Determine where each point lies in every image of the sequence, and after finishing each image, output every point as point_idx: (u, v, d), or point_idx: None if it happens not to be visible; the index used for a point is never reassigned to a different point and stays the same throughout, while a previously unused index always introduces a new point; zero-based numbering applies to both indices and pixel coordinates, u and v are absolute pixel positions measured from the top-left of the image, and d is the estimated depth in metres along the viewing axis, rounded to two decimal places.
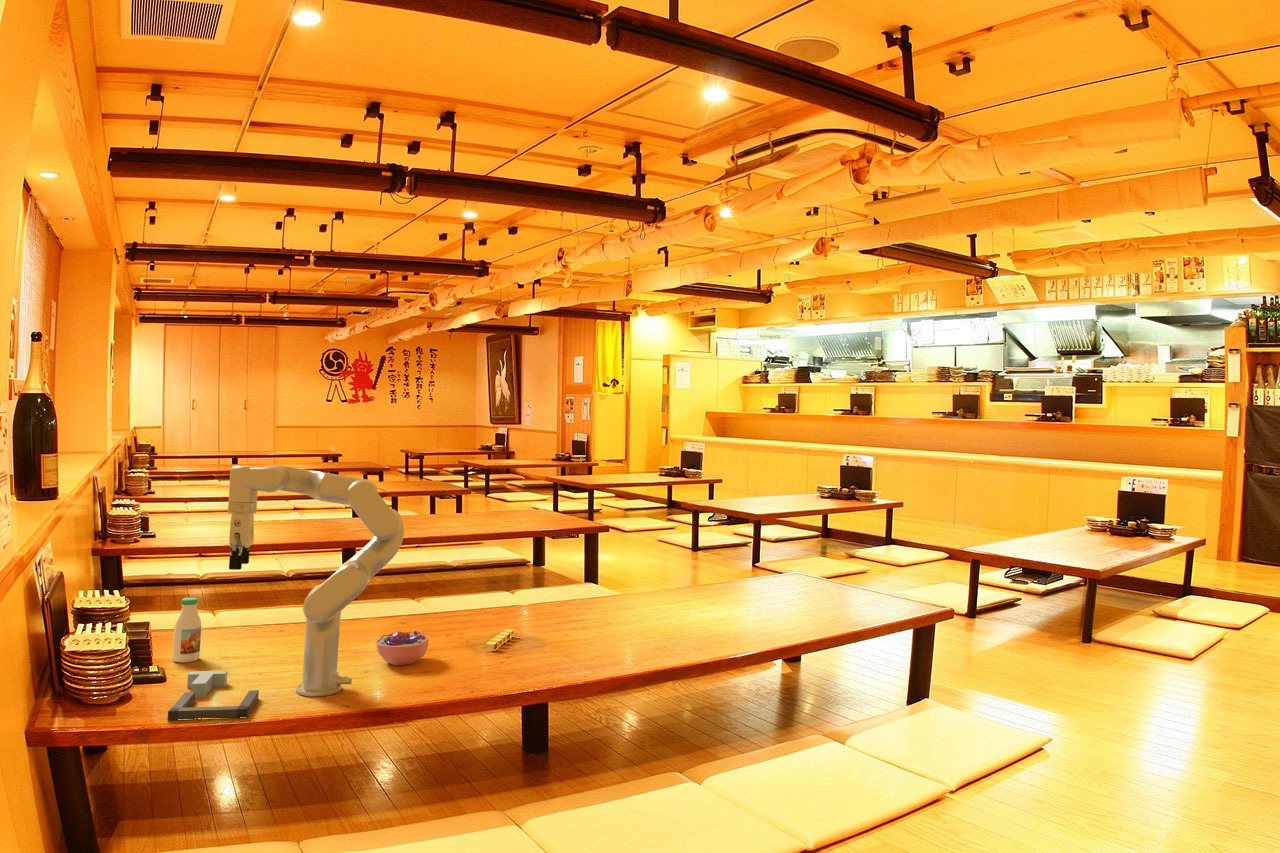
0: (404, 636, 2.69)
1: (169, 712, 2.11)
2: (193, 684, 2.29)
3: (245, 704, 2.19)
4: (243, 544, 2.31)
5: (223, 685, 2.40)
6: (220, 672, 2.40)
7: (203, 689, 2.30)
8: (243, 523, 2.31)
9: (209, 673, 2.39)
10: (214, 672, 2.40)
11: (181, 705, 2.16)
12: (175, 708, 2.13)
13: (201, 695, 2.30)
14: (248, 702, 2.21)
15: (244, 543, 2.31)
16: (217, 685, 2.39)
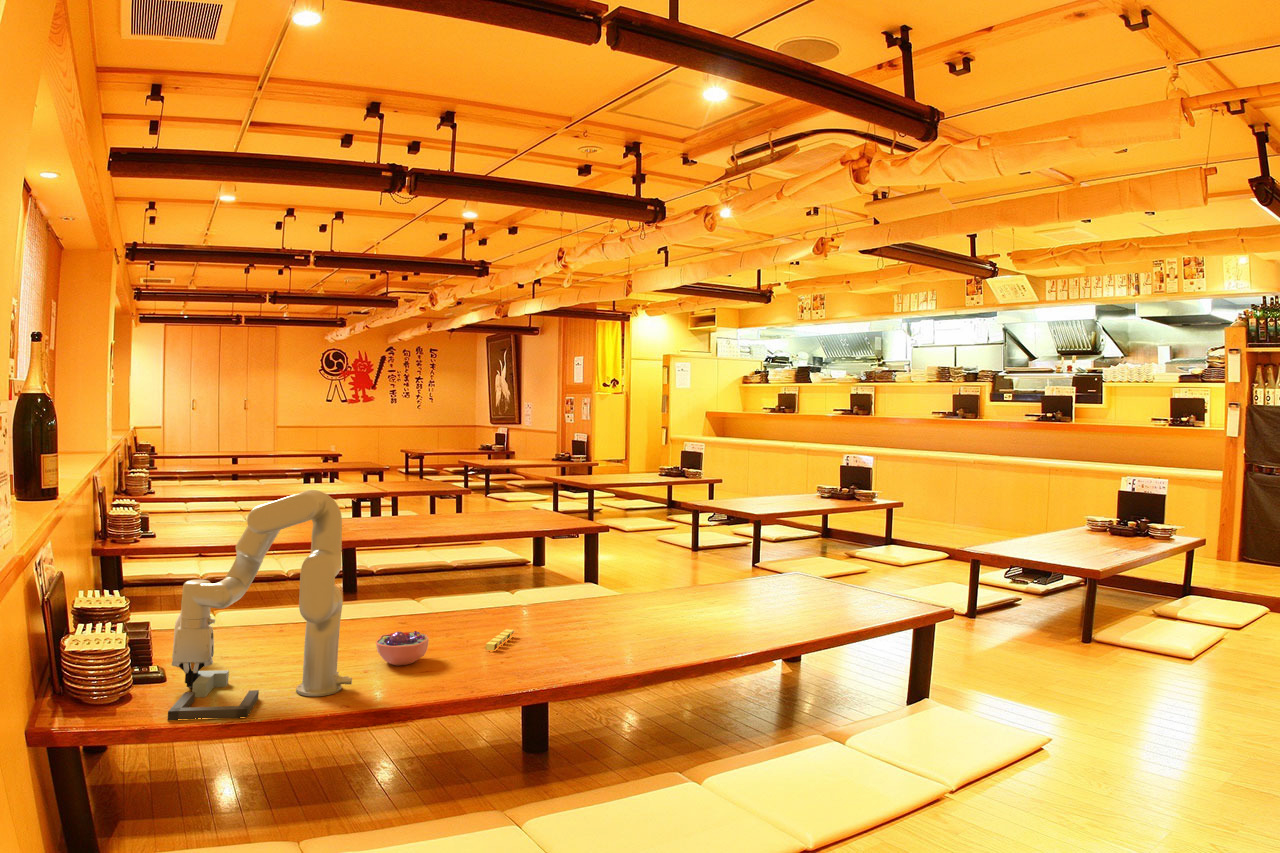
0: (404, 636, 2.69)
1: (169, 712, 2.11)
2: (194, 684, 2.29)
3: (245, 704, 2.19)
4: (213, 654, 2.39)
5: (224, 685, 2.40)
6: (221, 672, 2.41)
7: (204, 689, 2.30)
8: (213, 634, 2.39)
9: (210, 672, 2.39)
10: (215, 672, 2.40)
11: (181, 705, 2.16)
12: (175, 708, 2.13)
13: (203, 695, 2.30)
14: (248, 702, 2.21)
15: (213, 654, 2.39)
16: (218, 685, 2.39)
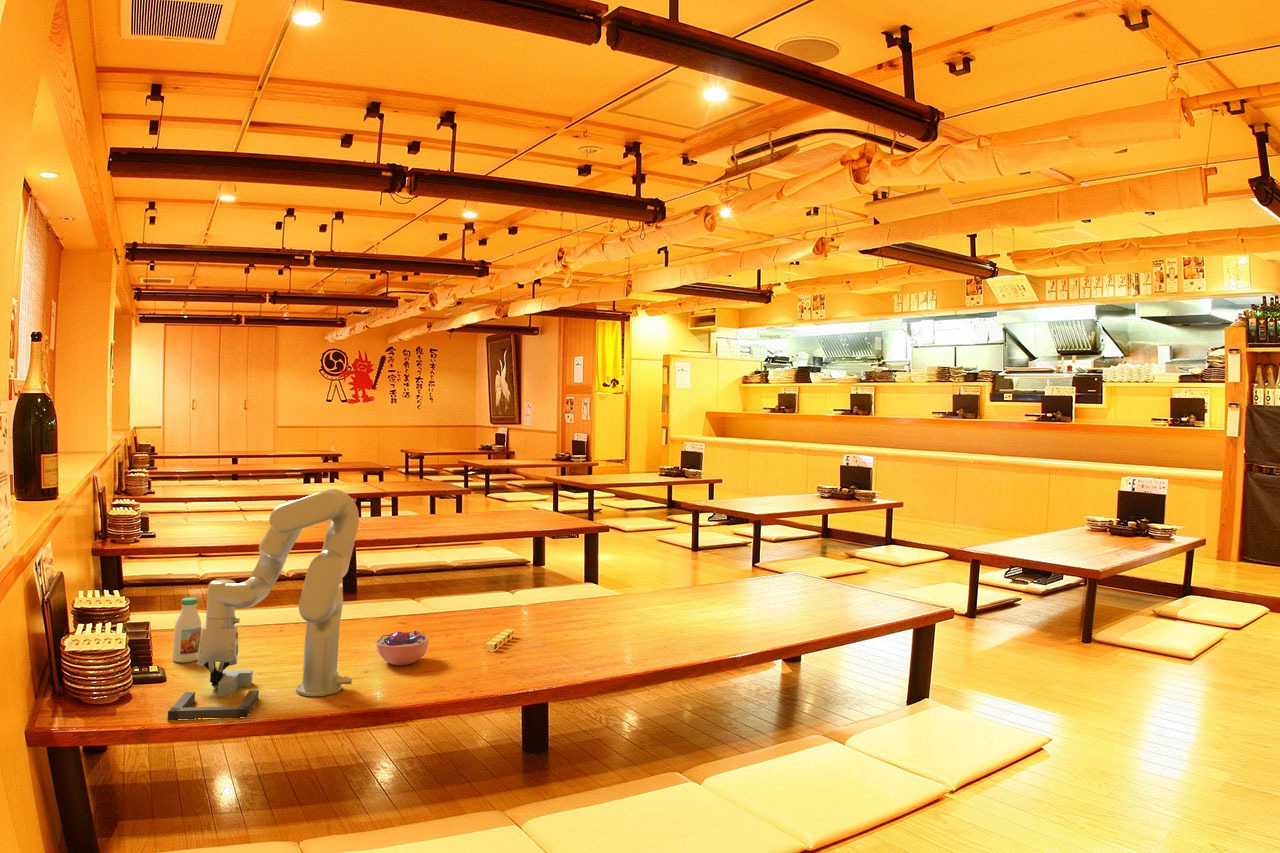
0: (404, 636, 2.69)
1: (169, 712, 2.11)
2: (220, 683, 2.31)
3: (245, 704, 2.19)
4: (237, 654, 2.41)
5: (248, 684, 2.41)
6: (245, 671, 2.42)
7: (230, 688, 2.32)
8: (237, 634, 2.40)
9: (234, 672, 2.41)
10: (240, 671, 2.42)
11: (181, 705, 2.16)
12: (175, 708, 2.13)
13: (228, 694, 2.32)
14: (248, 702, 2.21)
15: (237, 653, 2.41)
16: (243, 684, 2.41)
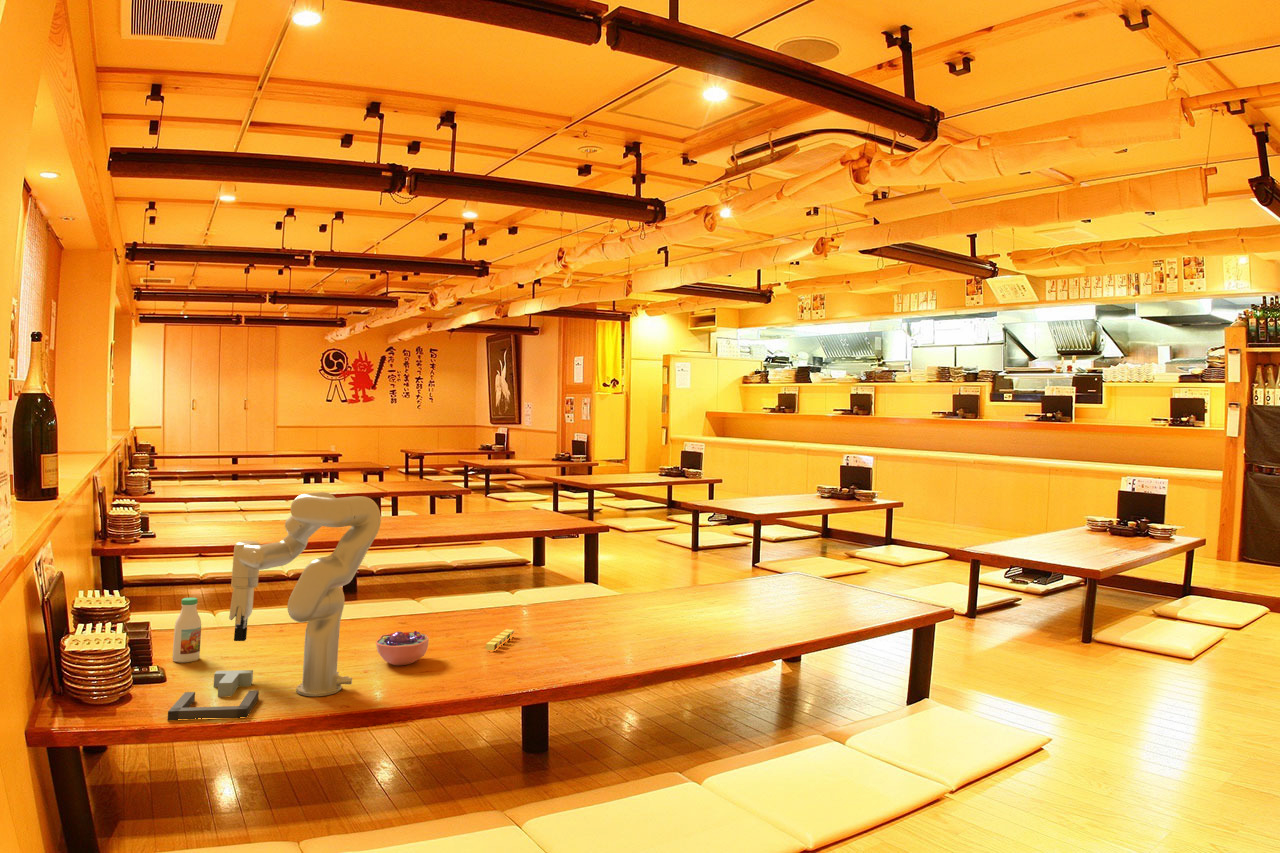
0: (404, 636, 2.69)
1: (169, 712, 2.11)
2: (220, 683, 2.31)
3: (245, 704, 2.19)
4: None
5: (249, 684, 2.41)
6: (246, 671, 2.42)
7: (230, 688, 2.32)
8: None
9: (235, 672, 2.41)
10: (240, 671, 2.42)
11: (181, 705, 2.16)
12: (175, 708, 2.13)
13: (228, 695, 2.32)
14: (248, 702, 2.21)
15: None
16: (243, 684, 2.41)
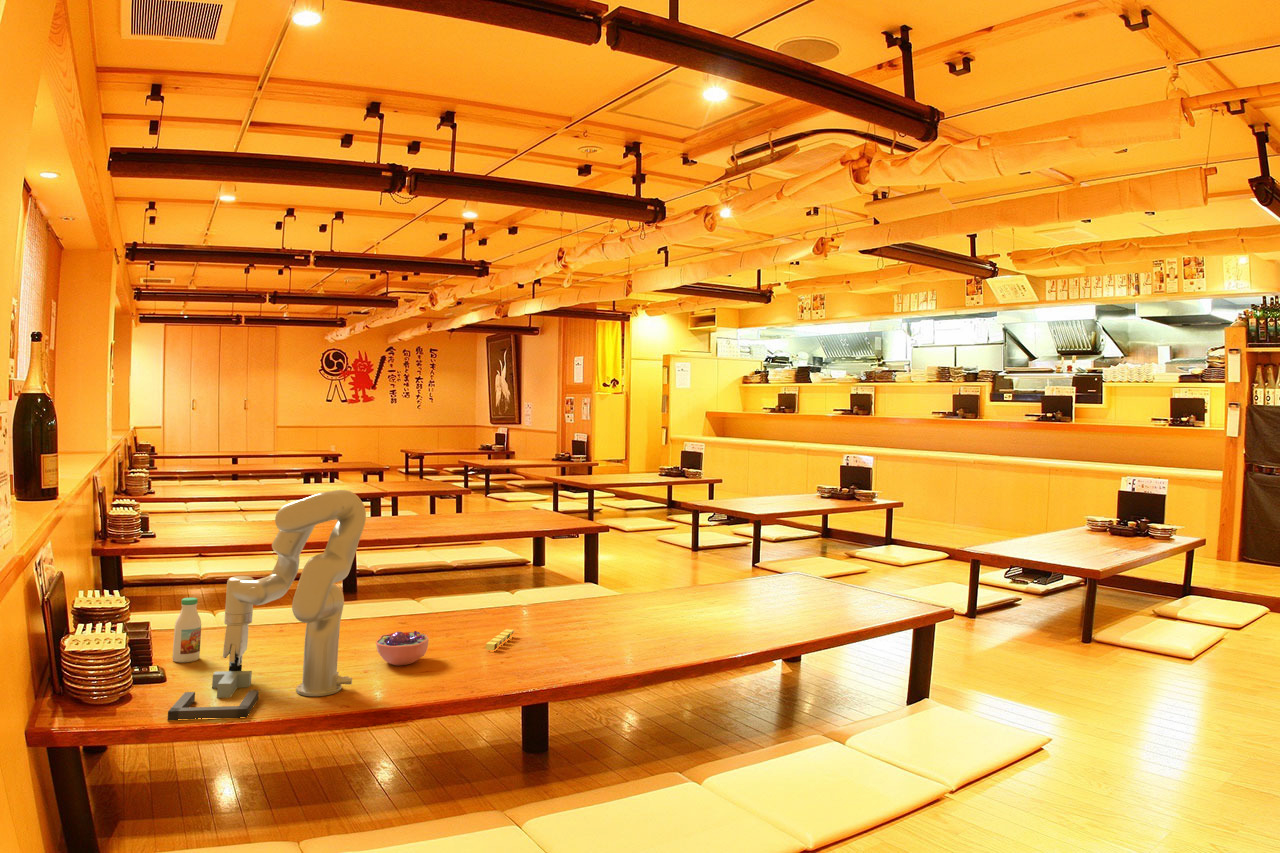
0: (404, 636, 2.69)
1: (169, 712, 2.11)
2: (219, 684, 2.30)
3: (245, 704, 2.19)
4: None
5: (248, 685, 2.40)
6: (244, 672, 2.41)
7: (229, 689, 2.31)
8: None
9: (233, 673, 2.40)
10: (239, 672, 2.41)
11: (181, 705, 2.16)
12: (175, 708, 2.13)
13: (227, 695, 2.31)
14: (248, 702, 2.21)
15: None
16: (242, 685, 2.40)
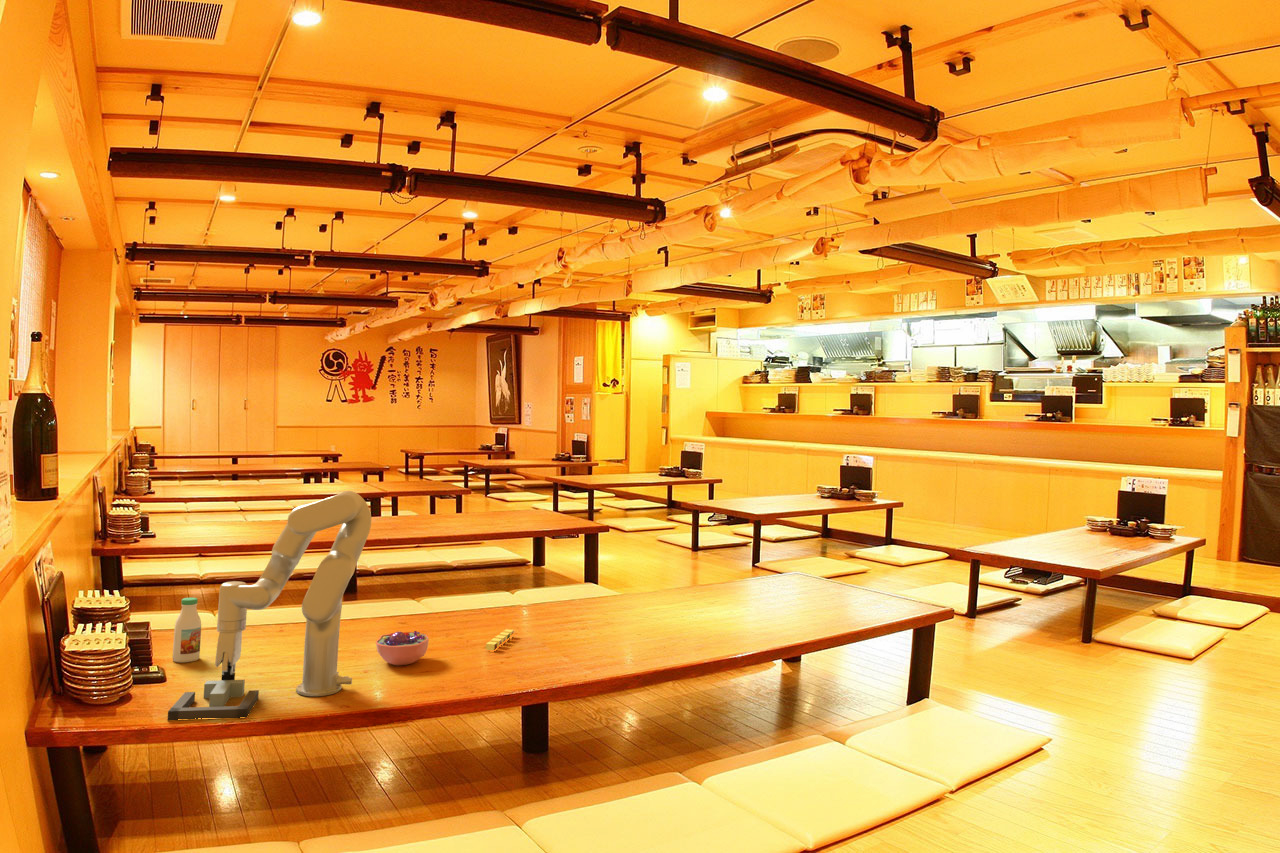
0: (404, 636, 2.69)
1: (169, 712, 2.11)
2: (211, 694, 2.22)
3: (245, 704, 2.19)
4: None
5: (241, 695, 2.32)
6: (237, 681, 2.33)
7: (222, 699, 2.22)
8: None
9: (226, 682, 2.32)
10: (231, 681, 2.33)
11: (181, 705, 2.16)
12: (175, 708, 2.13)
13: (220, 706, 2.22)
14: (248, 702, 2.21)
15: None
16: (234, 695, 2.32)
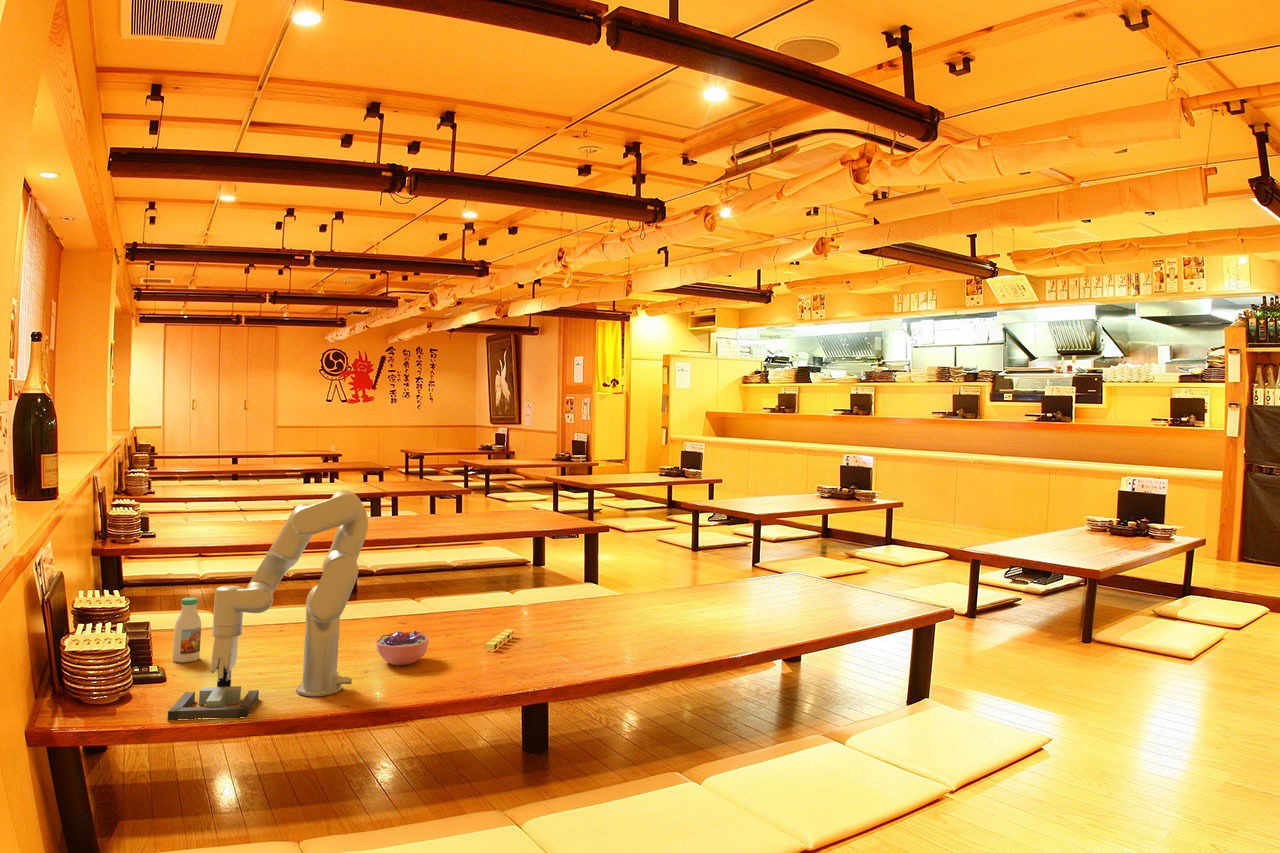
0: (404, 636, 2.69)
1: (169, 712, 2.11)
2: (207, 701, 2.16)
3: (245, 704, 2.19)
4: None
5: (237, 701, 2.27)
6: (234, 688, 2.27)
7: None
8: None
9: (221, 689, 2.26)
10: (227, 688, 2.27)
11: (181, 705, 2.16)
12: (175, 708, 2.13)
13: None
14: (248, 702, 2.21)
15: None
16: (231, 702, 2.26)
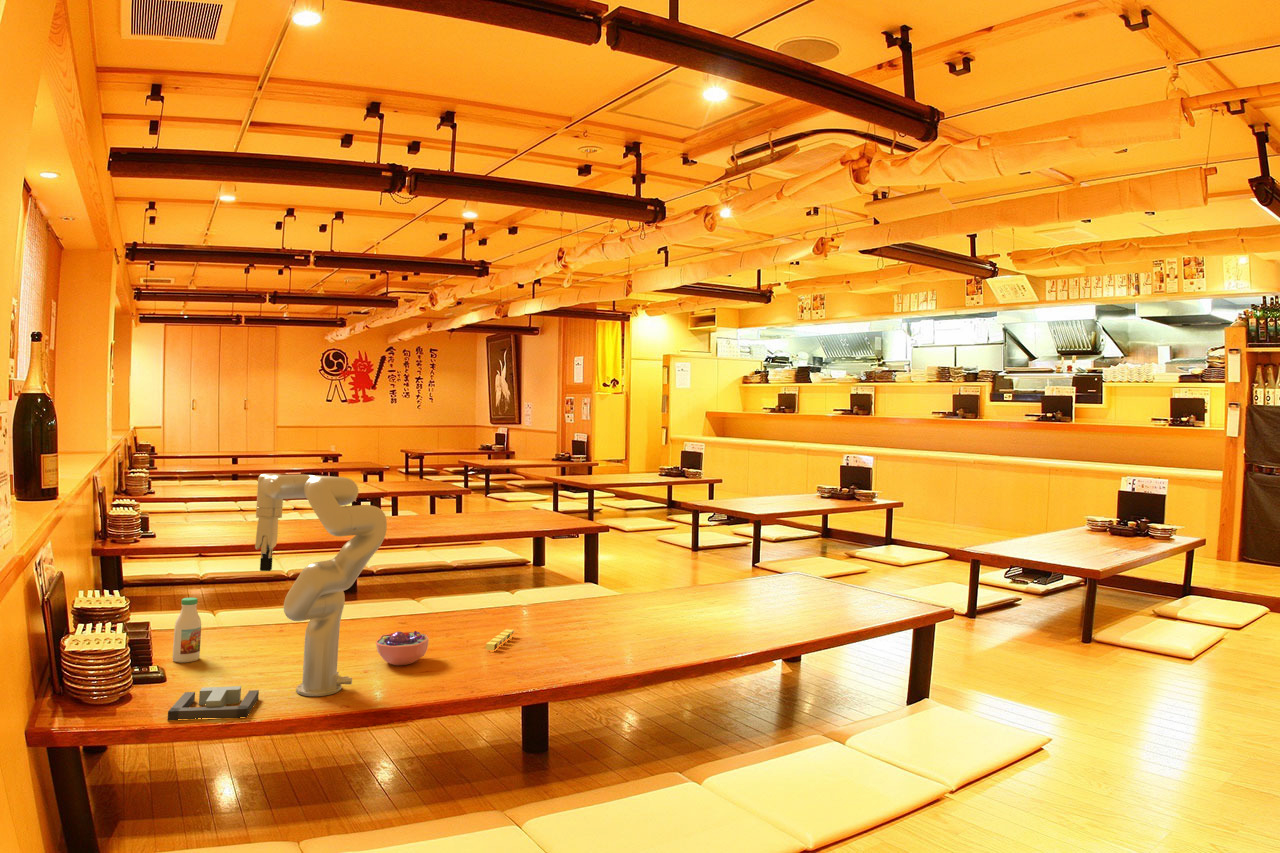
0: (404, 636, 2.69)
1: (169, 712, 2.11)
2: (207, 701, 2.16)
3: (245, 704, 2.19)
4: None
5: (237, 701, 2.27)
6: (234, 688, 2.27)
7: None
8: None
9: (221, 689, 2.26)
10: (227, 688, 2.27)
11: (181, 705, 2.16)
12: (175, 708, 2.13)
13: None
14: (248, 702, 2.21)
15: None
16: (231, 702, 2.26)
